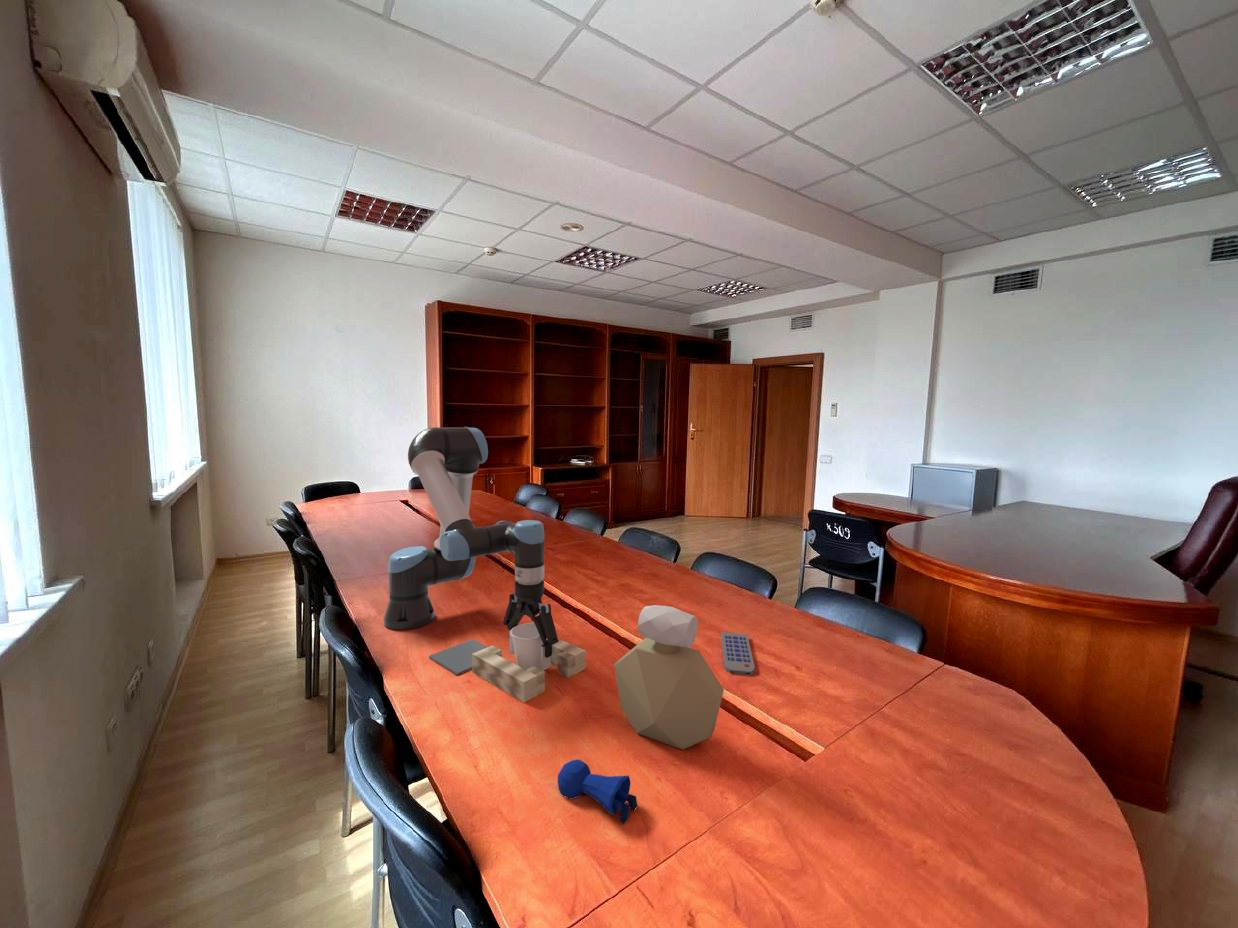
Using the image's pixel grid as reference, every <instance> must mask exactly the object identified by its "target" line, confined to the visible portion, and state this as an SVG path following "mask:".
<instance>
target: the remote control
mask: <svg viewBox="0 0 1238 928" xmlns="http://www.w3.org/2000/svg"><path fill="white" fill-rule="evenodd" d="M720 636H721V637H720V638H721V647H722V649H723V650H722V658H723V659H724V660H723V659H722V660H723V669H725V670H726V671H727V672H726V671H725V670H724V671H725V672H726V673H728V672H729V673H728V674H730V673H733V675H743V676H753V675H754V674H755V670H756V669H755V662H754V658H753V654H752V650H751V646H750V645H751V644H750V641H749V635H748V634H747V633H735V632H720ZM753 673H754V674H753ZM752 674H753V675H752Z"/></svg>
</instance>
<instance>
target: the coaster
mask: <svg viewBox="0 0 1238 928" xmlns="http://www.w3.org/2000/svg"><path fill="white" fill-rule="evenodd" d="M487 647H488V646H487V645H485V644H483V643H482V642H479V641H477V640H475V639H473V638H471V639H469V640H466V641H464V642H461V643H459V644H456V645H453V646H451V647H448V648H446V649H443V650H441V651H438V652H435V653H433V654H429V655H428V658H429V659H430V660H431V661H433V662H434V663H436V664H438V665H440V666H441V667H443V668H444V669H446V670H447V671H449V672H451V673H452V674H454V675H456V676H460V675H461V674H464V673H466V672H468V671H470V670H471V671H472V654H473V653H475V652H478V651H480V650H483V649H485V648H487Z"/></svg>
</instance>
